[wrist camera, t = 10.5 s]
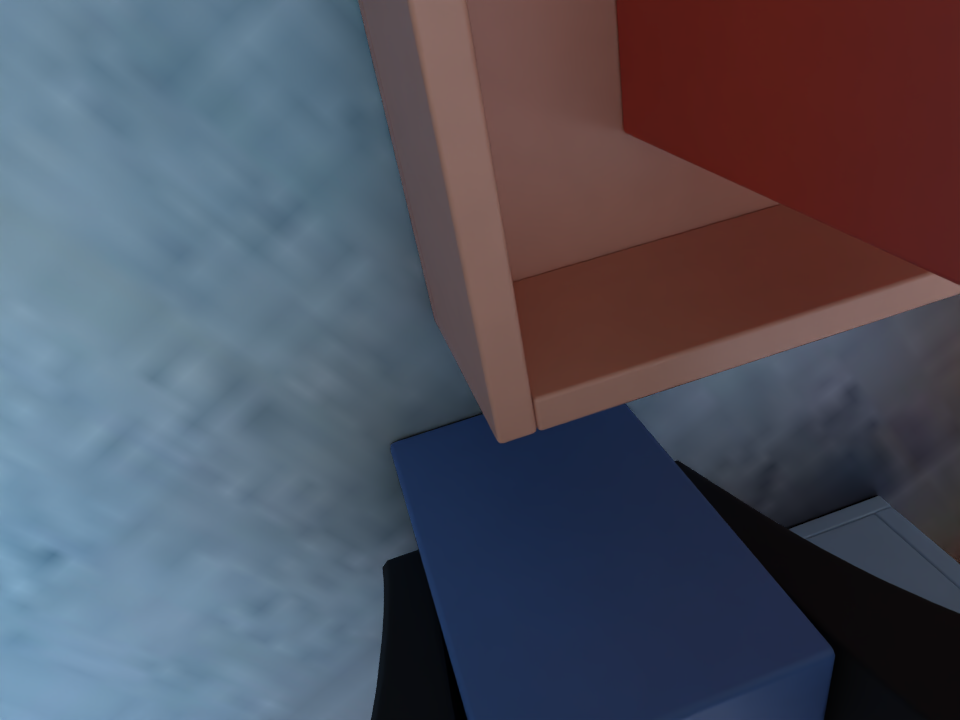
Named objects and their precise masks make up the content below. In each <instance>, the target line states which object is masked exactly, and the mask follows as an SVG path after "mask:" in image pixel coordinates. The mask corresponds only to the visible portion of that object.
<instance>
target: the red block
mask: <svg viewBox="0 0 960 720" xmlns="http://www.w3.org/2000/svg"><path fill="white" fill-rule="evenodd" d="M616 4H617V21H618V38H619V55H620V72H621V90H622V107H623V124H624V131H625V133H626V134H629V135H631V136H633V137H635V138H637V139H640V140H642V141H644V142H646V143H648V144H651V145H653V146H655V147H657V148H659V149H662V150H664V151H666V152H668V153H670V154H672V155H675V156H677V157H679V158H681V159H683V160H686V161H688V162H690V163H692V164H694V165H697V166H699V167H701V168H703V169H705V170H708V171H710V172H712V173H714V174H716V175H719V176H721V177H723V178H725V179H727V180H730V181H732V182H734V183H736V184H738V185H740V186H743V187H745V188H747V189H749V190H751V191H754V192H756V193H758V194H760V195H762V196H765V197H767V198H769V199H771V200H773V201H776V202H778V203H780V204H782V205H784V206H787V207H789V208H791V209H793V210H795V211H797V212H800V213H802V214H804V215H806V216H808V217H811V218H813V219H815V220H817V221H819V222H822V223H824V224H826V225H828V226H830V227H833V228H835V229H837V230H839V231H841V232H844V233H846V234H848V235H850V236H852V237H855V238H857V239H859V240H861V241H863V242H865V243H868V244H870V245H872V246H874V247H876V248H879V249H881V250H883V251H885V252H887V253H890V254H892V255H894V256H896V257H898V258H901V259H903V260H905V261H907V262H909V263H912V264H914V265H916V266H918V267H920V268H923V269H925V270H927V271H929V272H931V273H933V274H936V275H938V276H940V277H942V278H944V279H947V280H949V281H951V282H953V283H955V284H958V285H960V0H616Z"/></svg>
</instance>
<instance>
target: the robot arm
mask: <svg viewBox="0 0 960 720" xmlns="http://www.w3.org/2000/svg"><path fill="white" fill-rule="evenodd" d="M674 462H675V463H676V464H677V465H678V466H679V468H680V469H681V470H682V471H683V472H684V473H685V475H686V476H687V477H688V478H689V479H690V480H691V482H692V483H693V484H694V485H695V486H696V488H697V489H698V490H699V491H700V492H701V493H702V495H703V496H704V497H705V498H706V499H707V501H708V502H709V503H710V504H711V505H712V506H713V508H714V509H715V510H716V511H717V512H718V513H719V515H720V516H721V517H722V518H723V519H724V521H725V522H726V523H727V524H728V525H729V526H730V528H731V529H732V530H733V531H734V532H735V534H736V535H737V536H738V537H739V538H740V539H741V541H742V542H743V543H744V544H745V545H746V547H747V548H748V549H749V550H750V551H751V552H752V554H753V555H754V556H755V557H756V558H757V559H758V561H759V562H760V563H761V564H762V565H763V567H764V568H765V569H766V570H767V571H768V572H769V574H770V575H771V576H772V577H773V578H774V580H775V581H776V582H777V583H778V584H779V585H780V587H781V588H782V589H783V590H784V591H785V592H786V594H787V595H788V596H789V597H790V598H791V600H792V601H793V602H794V603H795V604H796V605H797V607H798V608H799V609H800V610H801V611H802V613H803V614H804V615H805V616H806V617H807V618H808V620H809V621H810V622H811V623H812V624H813V625H814V627H815V628H816V629H817V630H818V631H819V633H820V634H821V635H822V636H823V637H824V638H825V640H826V641H827V642H828V643H829V644H830V646H831V647H832V649H833V651H834V654H835V660H834V666H833V672H832V677H831V683H830V688H829V694H828V700H827V705H826V711H825V716H824V720H960V613H958V612H955V611H953V610H950V609H948V608H946V607H943V606H941V605H938V604H936V603H933V602H931V601H929V600H927V599H924V598H922V597H920V596H918V595H915V594H913V593H911V592H909V591H907V590H904V589H902V588H900V587H898V586H896V585H893V584H891V583H889V582H887V581H884V580H882V579H880V578H878V577H876V576H874V575H872V574H870V573H868V572H866V571H864V570H862V569H860V568H858V567H856V566H854V565H852V564H850V563H849V562H847V561H845V560H843V559H841V558H839V557H837V556H835V555H833V554H831V553H830V552H828V551H826V550H824V549H822V548H820V547H819V546H817V545H815V544H813V543H811V542H810V541H808V540H806V539H804V538H802V537H801V536H799V535H797V534H796V533H794V532H792V531H790V530H789V529H787V528H785V527H784V526H782V525H780V524H778V523H777V522H775V521H773V520H772V519H770V518H768V517H767V516H765V515H763V514H762V513H760V512H758V511H757V510H755V509H753V508H752V507H750V506H749V505H747V504H745V503H744V502H742V501H741V500H739V499H737V498H736V497H734V496H733V495H731V494H729V493H728V492H726V491H725V490H723V489H722V488H720V487H719V486H717V485H715V484H714V483H712V482H711V481H709V480H708V479H706V478H705V477H703V476H701V475H700V474H698V473H697V472H695V471H694V470H692V469H691V468H689V467H687V466H686V465H684V464H683V463H681V462H679V461H674ZM383 578H384V616H383V632H382V644H381V653H380V662H379V670H378V679H377V687H376V694H375V700H374V706H373V712H372V718H371V720H467V716H466V713H465V709H464V706H463V702H462V699H461V695H460V692H459V688H458V685H457V681H456V678H455V674H454V671H453V667H452V664H451V660H450V657H449V653H448V650H447V646H446V643H445V639H444V636H443V632H442V629H441V625H440V622H439V618H438V615H437V611H436V608H435V604H434V601H433V597H432V594H431V590H430V587H429V583H428V580H427V576H426V573H425V569H424V566H423V562H422V559H421V555H420V552H419V550H416V551H413V552H410V553H407V554H405V555H402V556H399V557H396V558H393V559H390V560H387V562H386V563H385V565H384V566H383Z"/></svg>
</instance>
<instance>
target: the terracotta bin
mask: <svg viewBox="0 0 960 720" xmlns="http://www.w3.org/2000/svg"><path fill="white" fill-rule="evenodd" d="M358 3H359V7H360V11H361V15H362V19H363V23H364V28H365V32H366V36H367V40H368V44H369V48H370V53H371V57H372V61H373V65H374V69H375V73H376V78H377V82H378V86H379V90H380V94H381V98H382V103H383V107H384V111H385V115H386V119H387V123H388V128H389V132H390V136H391V140H392V144H393V148H394V153H395V157H396V161H397V165H398V169H399V174H400V178H401V182H402V186H403V190H404V194H405V199H406V203H407V207H408V211H409V215H410V219H411V224H412V228H413V232H414V236H415V240H416V244H417V249H418V253H419V257H420V261H421V265H422V269H423V274H424V278H425V282H426V286H427V290H428V294H429V299H430V303H431V307H432V311H433V315H434V319H435V322H436V324H437V325H438V327H439V329H440V331H441V333H442V335H443V337H444V339H445V341H446V343H447V344H448V346H449V348H450V350H451V352H452V354H453V356H454V358H455V360H456V362H457V364H458V366H459V368H460V370H461V372H462V374H463V376H464V377H465V379H466V381H467V383H468V385H469V387H470V389H471V391H472V393H473V395H474V397H475V399H476V401H477V403H478V405H479V407H480V409H481V410H482V412H483V414H484V416H485V418H486V420H487V422H488V424H489V426H490V428H491V430H492V432H493V434H494V436H495V438H496V440H497V441H498V442H499V443H506V442H509V441H512V440H515V439H518V438H521V437H524V436H527V435H530V434H533V433H535V432H536V427H537V428H538V429H539V430H545V429H548V428H551V427H554V426H558V425H561V424H564V423H567V422H570V421H573V420H576V419H579V418H582V417H585V416H588V415H591V414H594V413H597V412H600V411H603V410H606V409H609V408H612V407H615V406H619V405H622V404H625V403H628V402H631V401H634V400H637V399H640V398H643V397H646V396H649V395H652V394H655V393H658V392H661V391H664V390H667V389H670V388H673V387H676V386H680V385H683V384H686V383H689V382H692V381H695V380H698V379H701V378H704V377H707V376H710V375H713V374H716V373H719V372H722V371H725V370H728V369H731V368H734V367H737V366H741V365H744V364H747V363H750V362H753V361H756V360H759V359H762V358H765V357H768V356H771V355H774V354H777V353H780V352H783V351H786V350H789V349H792V348H795V347H799V346H802V345H805V344H808V343H811V342H814V341H817V340H820V339H823V338H826V337H829V336H832V335H835V334H838V333H841V332H844V331H847V330H850V329H853V328H856V327H860V326H863V325H866V324H869V323H872V322H875V321H878V320H881V319H884V318H887V317H890V316H893V315H896V314H899V313H902V312H905V311H908V310H911V309H914V308H917V307H921V306H924V305H927V304H930V303H933V302H936V301H939V300H942V299H945V298H948V297H951V296H954V295H957V294H960V285H958V284H955V283H953V282H951V281H949V280H947V279H944V278H942V277H940V276H938V275H936V274H933V273H931V272H929V271H927V270H925V269H923V268H920V267H918V266H916V265H914V264H912V263H909V262H907V261H905V260H903V259H901V258H898V257H896V256H894V255H892V254H890V253H887V252H885V251H883V250H881V249H879V248H876V247H874V246H872V245H870V244H868V243H865V242H863V241H861V240H859V239H857V238H855V237H852V236H850V235H848V234H846V233H844V232H841V231H839V230H837V229H835V228H833V227H830V226H828V225H826V224H824V223H822V222H819V221H817V220H815V219H813V218H811V217H808V216H806V215H804V214H802V213H800V212H797V211H795V210H793V209H791V208H789V207H787V206H784V205H782V204H780V203H778V202H776V201H773V200H771V199H769V198H767V197H765V196H762V195H760V194H758V193H756V192H754V191H751V190H749V189H747V188H745V187H743V186H740V185H738V184H736V183H734V182H732V181H730V180H727V179H725V178H723V177H721V176H719V175H716V174H714V173H712V172H710V171H708V170H705V169H703V168H701V167H699V166H697V165H694V164H692V163H690V162H688V161H686V160H683V159H681V158H679V157H677V156H675V155H672V154H670V153H668V152H666V151H664V150H662V149H659V148H657V147H655V146H653V145H651V144H648V143H646V142H644V141H642V140H640V139H637V138H635V137H633V136H631V135H629V134H626V133H625V131H624V124H623V107H622V90H621V72H620V55H619V38H618V21H617V4H616V0H358Z"/></svg>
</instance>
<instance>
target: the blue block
mask: <svg viewBox="0 0 960 720" xmlns="http://www.w3.org/2000/svg"><path fill="white" fill-rule="evenodd" d="M390 450H391V454H392V457H393V461H394V464H395V468H396V471H397V475H398V478H399V482H400V485H401V489H402V492H403V496H404V499H405V503H406V506H407V510H408V513H409V517H410V520H411V524H412V527H413V531H414V534H415V538H416V541H417V545H418V548H419V552H420V555H421V559H422V562H423V566H424V569H425V573H426V576H427V580H428V583H429V587H430V590H431V594H432V597H433V601H434V604H435V608H436V611H437V615H438V618H439V622H440V625H441V629H442V632H443V636H444V639H445V643H446V646H447V650H448V653H449V657H450V660H451V664H452V667H453V671H454V674H455V678H456V681H457V685H458V688H459V692H460V695H461V699H462V702H463V706H464V709H465V713H466V716H467V720H824V716H825V711H826V705H827V700H828V694H829V688H830V683H831V677H832V672H833V666H834V660H835V654H834V651H833V649H832V647H831V646H830V644H829V643H828V642H827V641H826V640H825V638H824V637H823V636H822V635H821V634H820V633H819V631H818V630H817V629H816V628H815V627H814V625H813V624H812V623H811V622H810V621H809V620H808V618H807V617H806V616H805V615H804V614H803V613H802V611H801V610H800V609H799V608H798V607H797V605H796V604H795V603H794V602H793V601H792V600H791V598H790V597H789V596H788V595H787V594H786V592H785V591H784V590H783V589H782V588H781V587H780V585H779V584H778V583H777V582H776V581H775V580H774V578H773V577H772V576H771V575H770V574H769V572H768V571H767V570H766V569H765V568H764V567H763V565H762V564H761V563H760V562H759V561H758V559H757V558H756V557H755V556H754V555H753V554H752V552H751V551H750V550H749V549H748V548H747V547H746V545H745V544H744V543H743V542H742V541H741V539H740V538H739V537H738V536H737V535H736V534H735V532H734V531H733V530H732V529H731V528H730V526H729V525H728V524H727V523H726V522H725V521H724V519H723V518H722V517H721V516H720V515H719V513H718V512H717V511H716V510H715V509H714V508H713V506H712V505H711V504H710V503H709V502H708V501H707V499H706V498H705V497H704V496H703V495H702V493H701V492H700V491H699V490H698V489H697V488H696V486H695V485H694V484H693V483H692V482H691V480H690V479H689V478H688V477H687V476H686V475H685V473H684V472H683V471H682V470H681V469H680V468H679V466H678V465H677V464H676V463H675V462H674V460H673V459H672V458H671V457H670V456H669V455H668V453H667V452H666V451H665V450H664V449H663V447H662V446H661V445H660V444H659V443H658V442H657V440H656V439H655V438H654V437H653V436H652V434H651V433H650V432H649V431H648V430H647V429H646V427H645V426H644V425H643V424H642V423H641V422H640V420H639V419H638V418H637V417H636V416H635V414H634V413H633V412H632V411H631V410H630V409H629V407H628V406H627V405H626V404H622V405H619V406H615V407H612V408H609V409H606V410H603V411H600V412H597V413H594V414H591V415H588V416H585V417H582V418H579V419H576V420H573V421H570V422H567V423H564V424H561V425H558V426H554V427H551V428H548V429H545V430H539V429H538V428H537V427H536V432H535V433H533V434H530V435H527V436H524V437H521V438H518V439H515V440H512V441H509V442H506V443H499V442H498V441H497V440H496V438H495V436H494V434H493V432H492V430H491V428H490V426H489V424H488V422H487V420H486V418H485V416H484V414H482V415H478V416H475V417H472V418H469V419H466V420H463V421H460V422H456V423H453V424H450V425H447V426H444V427H441V428H438V429H435V430H431V431H428V432H425V433H422V434H419V435H416V436H413V437H409V438H406V439H403V440H400V441H397V442H394V443H393V444H391V448H390Z"/></svg>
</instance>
